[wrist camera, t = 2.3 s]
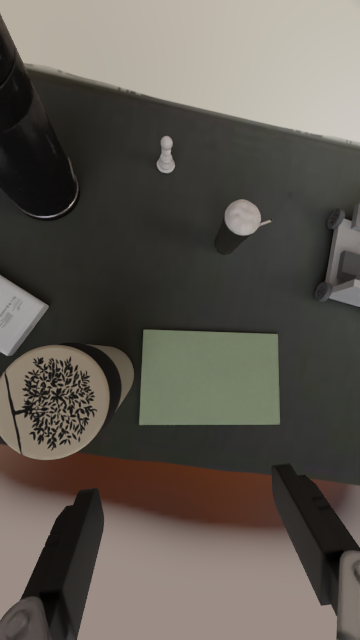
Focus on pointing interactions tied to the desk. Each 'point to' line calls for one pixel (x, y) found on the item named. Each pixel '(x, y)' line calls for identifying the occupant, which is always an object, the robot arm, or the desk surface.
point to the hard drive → (17, 315)
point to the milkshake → (237, 225)
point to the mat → (209, 378)
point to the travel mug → (61, 397)
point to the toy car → (343, 260)
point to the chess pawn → (166, 156)
